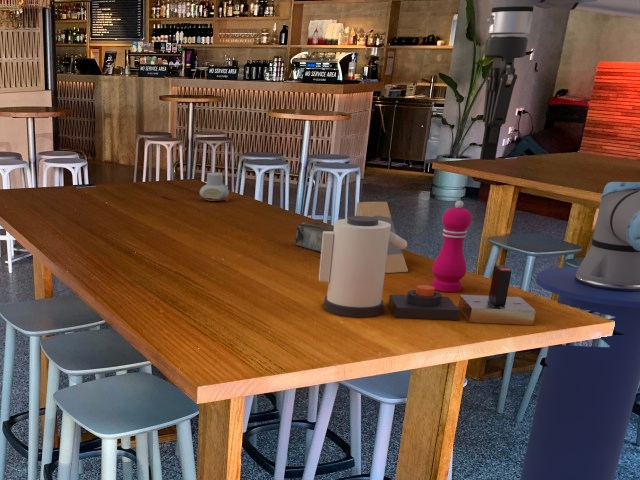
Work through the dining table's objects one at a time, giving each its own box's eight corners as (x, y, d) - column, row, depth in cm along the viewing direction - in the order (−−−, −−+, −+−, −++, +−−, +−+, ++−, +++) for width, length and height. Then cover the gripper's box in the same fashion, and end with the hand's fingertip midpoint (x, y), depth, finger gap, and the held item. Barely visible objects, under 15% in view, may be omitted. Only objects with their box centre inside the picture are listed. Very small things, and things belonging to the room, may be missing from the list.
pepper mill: (442, 283, 186) (455, 196, 179) (469, 290, 181) (484, 201, 173) (422, 287, 182) (435, 199, 175) (449, 294, 177) (464, 204, 169)
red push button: (431, 293, 164) (432, 285, 164) (435, 298, 161) (436, 289, 160) (413, 292, 165) (414, 284, 164) (416, 297, 162) (418, 289, 161)
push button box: (446, 306, 168) (449, 288, 167) (457, 320, 159) (460, 301, 157) (388, 304, 170) (390, 286, 168) (395, 317, 161) (398, 298, 159)
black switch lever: (488, 298, 163) (494, 263, 160) (498, 298, 163) (504, 264, 160) (494, 305, 158) (501, 269, 156) (505, 305, 158) (511, 270, 155)
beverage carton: (315, 242, 228) (317, 219, 226) (362, 256, 213) (365, 231, 210) (293, 245, 225) (295, 221, 222) (339, 259, 209) (342, 234, 207)
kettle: (393, 303, 171) (405, 214, 163) (403, 319, 160) (416, 225, 152) (314, 299, 173) (322, 212, 166) (318, 315, 162) (327, 222, 155)
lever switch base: (517, 310, 165) (520, 296, 164) (533, 325, 156) (536, 309, 155) (457, 308, 167) (460, 293, 166) (469, 322, 158) (471, 307, 157)
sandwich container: (377, 273, 195) (384, 212, 189) (350, 259, 209) (356, 202, 203) (409, 272, 196) (417, 211, 190) (380, 258, 210) (387, 200, 204)
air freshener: (230, 199, 301) (231, 172, 297) (226, 203, 294) (227, 175, 290) (201, 198, 304) (202, 171, 300) (197, 201, 296) (198, 174, 293)
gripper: (479, 37, 163) (461, 155, 172) (497, 35, 151) (476, 162, 160) (517, 37, 162) (497, 156, 171) (538, 35, 150) (515, 163, 159)
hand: (487, 159), depth 165 cm, fingers closed
